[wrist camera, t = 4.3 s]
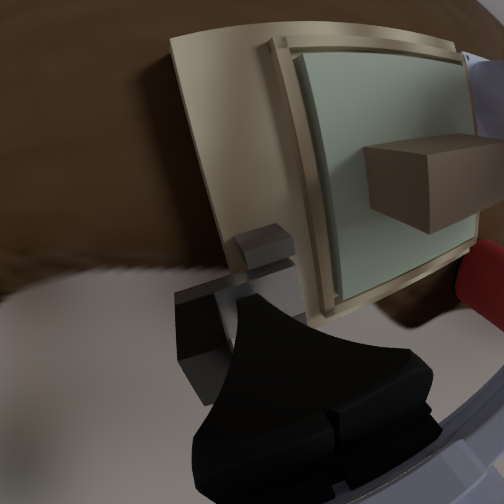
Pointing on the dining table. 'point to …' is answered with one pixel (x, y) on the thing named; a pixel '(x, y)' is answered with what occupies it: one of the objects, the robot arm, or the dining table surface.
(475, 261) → the beer can
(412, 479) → the robot arm
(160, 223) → the dining table surface
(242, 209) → the picture frame
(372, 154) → the cover
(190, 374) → the latch bolt
